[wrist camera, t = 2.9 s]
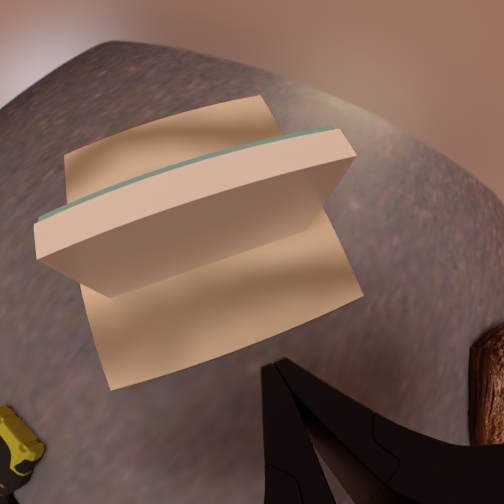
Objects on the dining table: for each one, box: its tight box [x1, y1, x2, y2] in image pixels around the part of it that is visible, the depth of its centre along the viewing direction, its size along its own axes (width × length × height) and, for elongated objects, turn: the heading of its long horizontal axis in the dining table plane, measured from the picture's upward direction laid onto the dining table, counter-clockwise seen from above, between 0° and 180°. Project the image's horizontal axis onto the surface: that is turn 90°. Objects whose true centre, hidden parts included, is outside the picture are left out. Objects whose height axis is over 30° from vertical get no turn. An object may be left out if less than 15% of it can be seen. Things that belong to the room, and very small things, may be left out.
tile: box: [34, 126, 357, 299], centre depth 15 cm, size 2×14×9 cm, turn 112°
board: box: [64, 95, 364, 390], centre depth 21 cm, size 19×18×1 cm
